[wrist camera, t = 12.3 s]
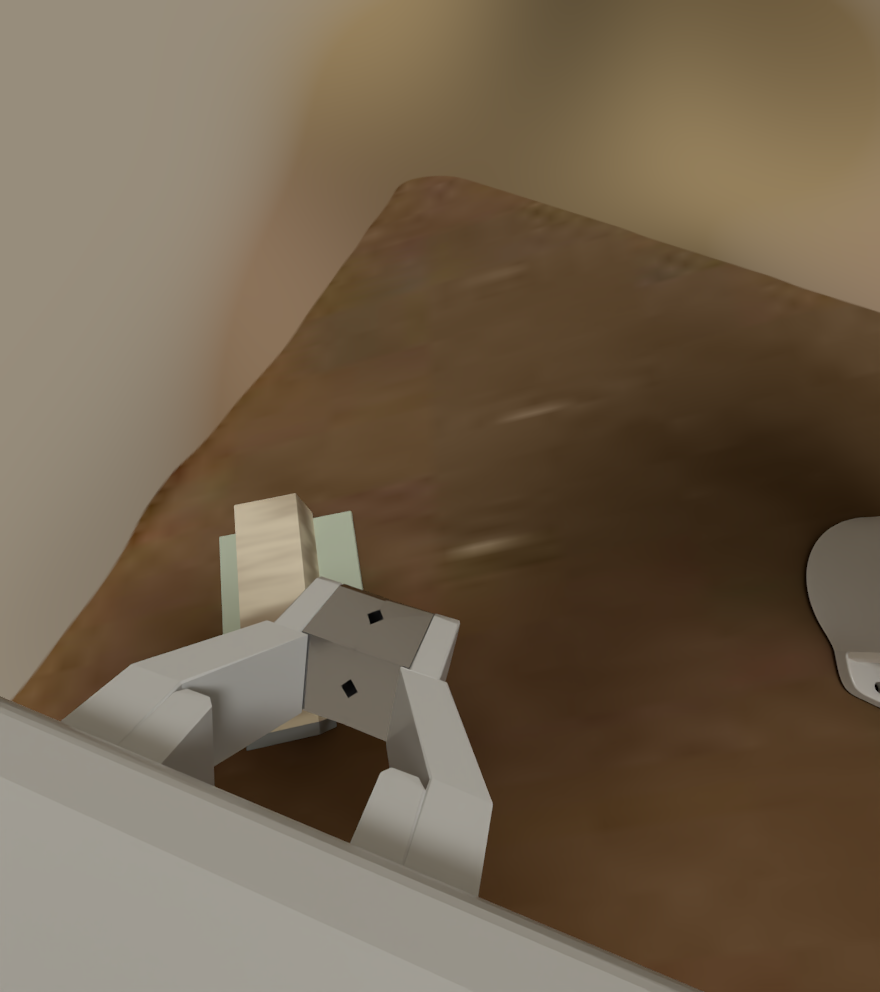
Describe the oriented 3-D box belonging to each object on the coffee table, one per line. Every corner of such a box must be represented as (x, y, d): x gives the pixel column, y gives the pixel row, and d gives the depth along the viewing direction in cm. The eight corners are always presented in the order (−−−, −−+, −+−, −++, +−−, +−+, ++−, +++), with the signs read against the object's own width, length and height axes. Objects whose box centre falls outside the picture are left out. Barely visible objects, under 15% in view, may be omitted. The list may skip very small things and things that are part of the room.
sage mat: (378, 696, 38) (377, 696, 37) (229, 729, 37) (226, 730, 37) (351, 512, 43) (350, 510, 43) (221, 538, 43) (219, 537, 42)
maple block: (320, 734, 32) (295, 493, 38) (246, 750, 32) (234, 505, 38) (336, 726, 36) (312, 513, 43) (272, 740, 36) (257, 523, 43)
